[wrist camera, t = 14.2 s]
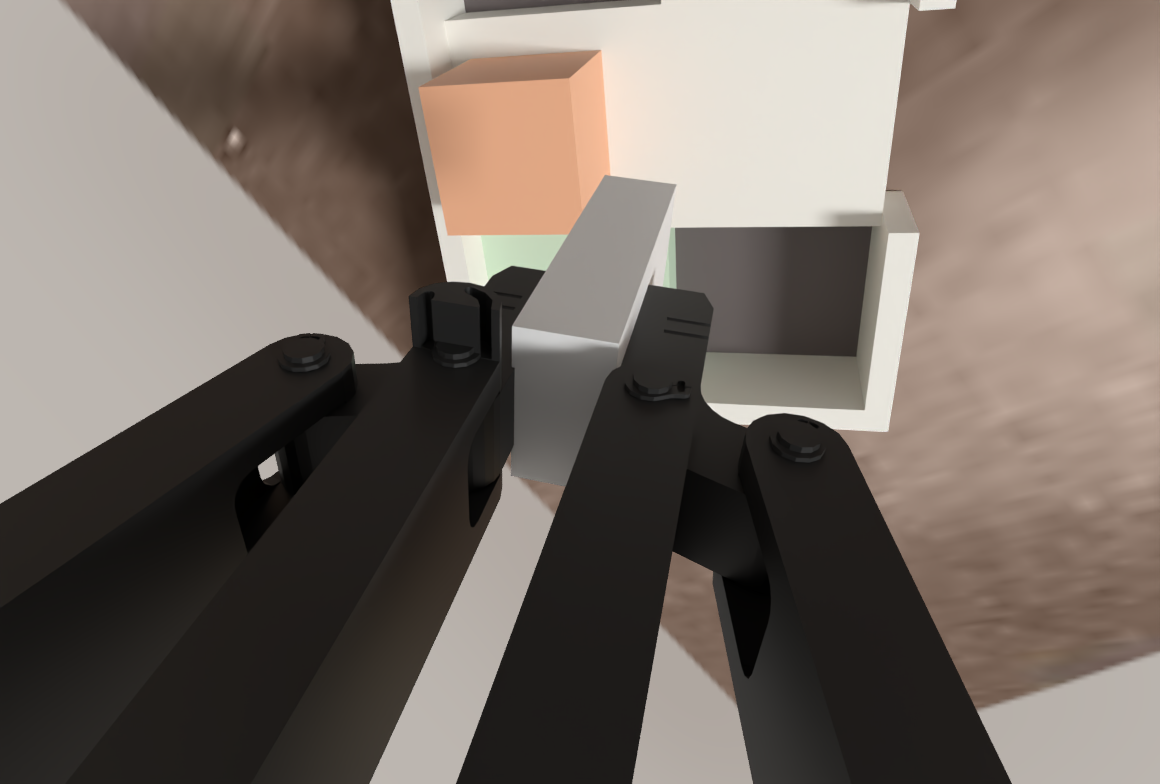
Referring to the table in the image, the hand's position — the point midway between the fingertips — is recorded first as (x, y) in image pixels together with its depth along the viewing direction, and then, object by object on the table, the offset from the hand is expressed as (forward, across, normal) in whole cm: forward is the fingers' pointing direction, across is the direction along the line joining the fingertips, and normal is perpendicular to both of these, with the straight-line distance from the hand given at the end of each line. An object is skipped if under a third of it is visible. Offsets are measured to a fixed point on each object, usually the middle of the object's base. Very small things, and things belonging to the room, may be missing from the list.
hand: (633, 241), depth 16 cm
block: (+14, -6, -2) cm, 15 cm away
